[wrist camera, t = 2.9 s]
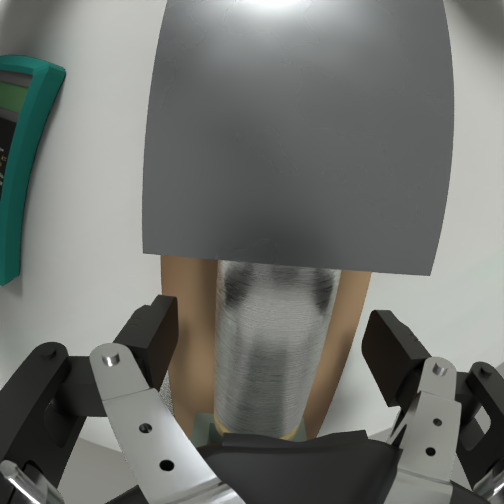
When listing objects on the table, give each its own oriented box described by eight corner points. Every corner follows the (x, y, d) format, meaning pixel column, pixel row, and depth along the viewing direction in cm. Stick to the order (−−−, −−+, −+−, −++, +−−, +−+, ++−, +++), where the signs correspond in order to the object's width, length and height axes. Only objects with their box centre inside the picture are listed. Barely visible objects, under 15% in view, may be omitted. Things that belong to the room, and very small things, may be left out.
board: (181, 425, 19) (178, 439, 17) (188, 28, 11) (181, 16, 9) (309, 432, 19) (311, 447, 17) (382, 53, 11) (394, 44, 9)
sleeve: (198, 204, 12) (143, 253, 6) (218, 14, 9) (193, -79, 3) (348, 218, 12) (429, 276, 6) (362, 34, 9) (433, -33, 3)
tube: (217, 387, 14) (209, 448, 10) (249, -14, 8) (248, -72, 4) (294, 391, 14) (303, 451, 10) (343, 0, 8) (375, -49, 4)
